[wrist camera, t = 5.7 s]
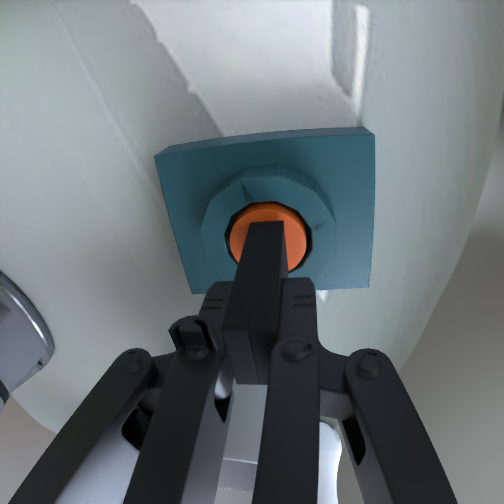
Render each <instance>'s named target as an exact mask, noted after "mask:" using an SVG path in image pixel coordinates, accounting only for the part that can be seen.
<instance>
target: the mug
mask: <svg viewBox="0 0 504 504" xmlns="http://www.w3.org/2000/svg"><path fill="white" fill-rule="evenodd" d="M232 388H233V391H234V403H233V408H232V413H231V419H230V424H229V429H228V434H227V439H226V445H225V450H224V455H223V460H222V465H221V470H220V476H219V481H218V486H217V487H221V488H225V489H231V490H238V491H248V492H249V491H250V492H254V485H255V478H256V471H257V464H258V456H259V449H260V441H261V434H262V426H263V418H264V410H265V402H266V394H267V385H242V384H237V383H236V380H235V376H234V381H233V386H232Z"/></svg>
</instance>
